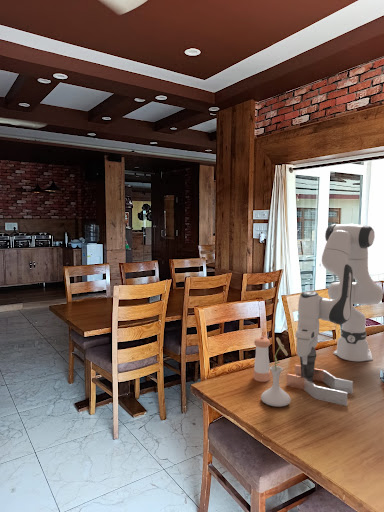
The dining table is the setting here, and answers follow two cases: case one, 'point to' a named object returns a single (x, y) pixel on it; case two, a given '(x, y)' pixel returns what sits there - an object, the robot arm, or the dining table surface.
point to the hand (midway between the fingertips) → (307, 361)
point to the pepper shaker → (261, 360)
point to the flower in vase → (276, 386)
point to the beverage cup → (308, 365)
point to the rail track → (330, 395)
